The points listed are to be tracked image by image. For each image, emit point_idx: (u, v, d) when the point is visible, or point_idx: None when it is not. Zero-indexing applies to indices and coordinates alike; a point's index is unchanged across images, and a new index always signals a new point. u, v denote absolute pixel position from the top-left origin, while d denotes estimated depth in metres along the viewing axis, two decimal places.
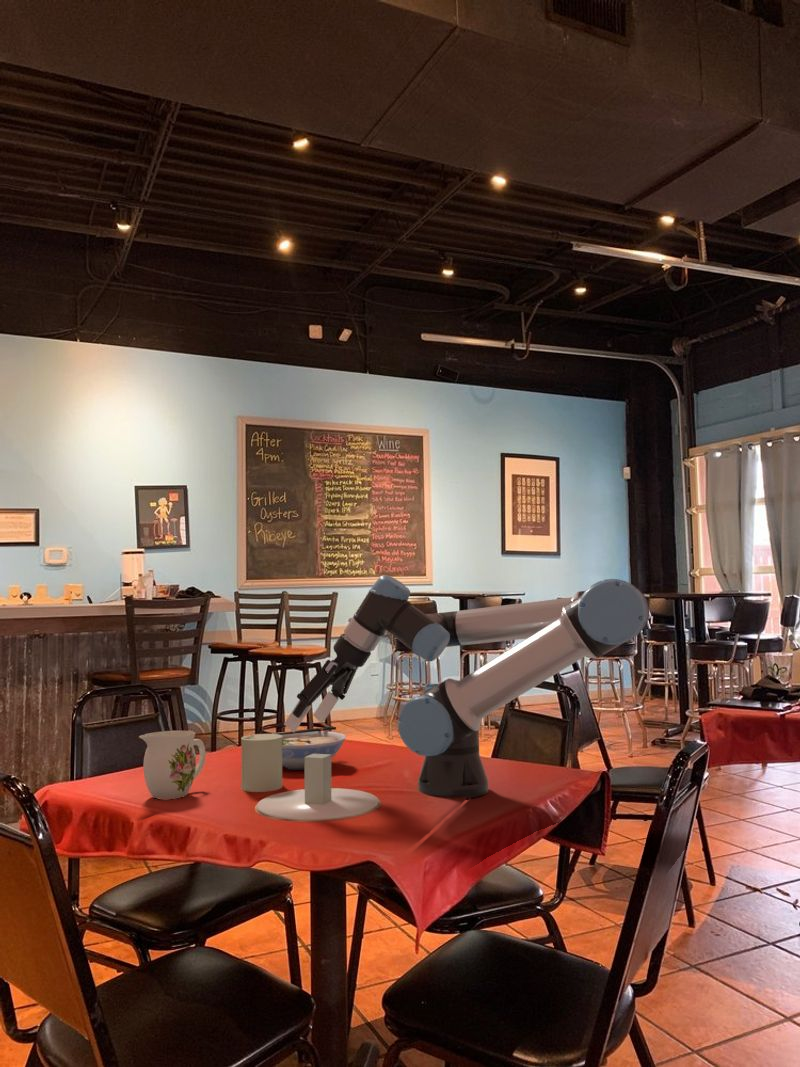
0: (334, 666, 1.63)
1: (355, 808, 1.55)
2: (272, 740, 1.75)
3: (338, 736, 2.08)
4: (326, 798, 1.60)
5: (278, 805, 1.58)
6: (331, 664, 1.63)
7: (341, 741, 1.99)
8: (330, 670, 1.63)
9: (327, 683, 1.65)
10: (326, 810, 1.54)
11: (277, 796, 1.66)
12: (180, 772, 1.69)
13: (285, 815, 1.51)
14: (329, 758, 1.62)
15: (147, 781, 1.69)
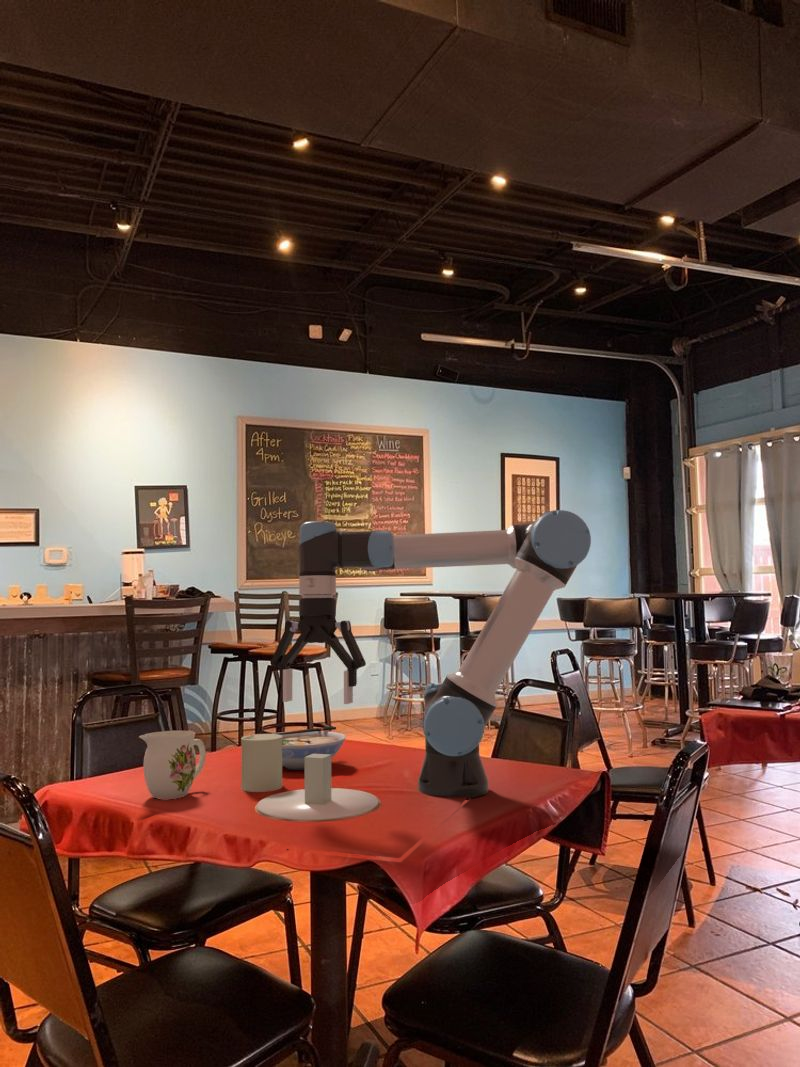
0: (348, 621, 1.63)
1: (355, 808, 1.55)
2: (272, 740, 1.75)
3: (338, 736, 2.08)
4: (326, 798, 1.60)
5: (278, 805, 1.58)
6: (347, 622, 1.62)
7: (341, 741, 1.99)
8: (349, 627, 1.62)
9: (340, 643, 1.63)
10: (326, 810, 1.54)
11: (277, 796, 1.66)
12: (180, 772, 1.69)
13: (285, 815, 1.51)
14: (329, 758, 1.62)
15: (147, 781, 1.69)
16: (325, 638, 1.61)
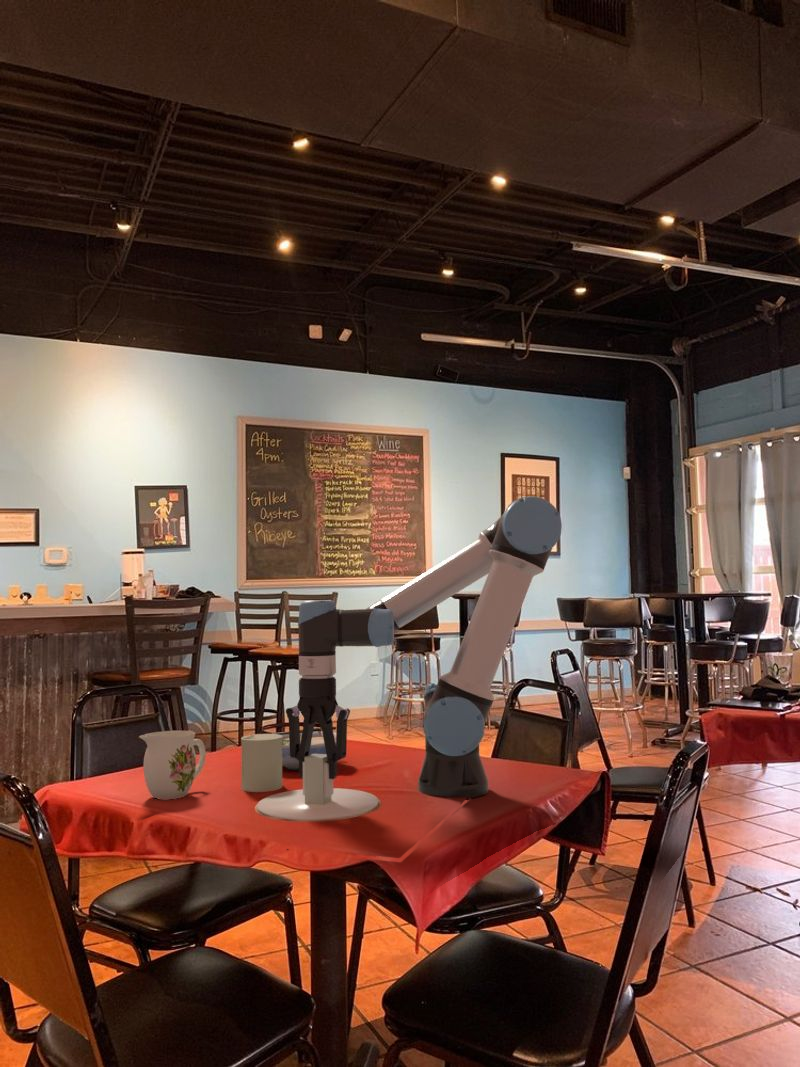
0: (349, 711, 1.61)
1: (355, 808, 1.55)
2: (272, 740, 1.75)
3: None
4: (326, 798, 1.60)
5: (278, 805, 1.58)
6: (347, 711, 1.60)
7: None
8: (347, 716, 1.61)
9: (332, 729, 1.62)
10: (326, 810, 1.54)
11: (277, 796, 1.66)
12: (180, 772, 1.69)
13: (285, 815, 1.51)
14: None
15: (147, 781, 1.69)
16: (320, 721, 1.60)
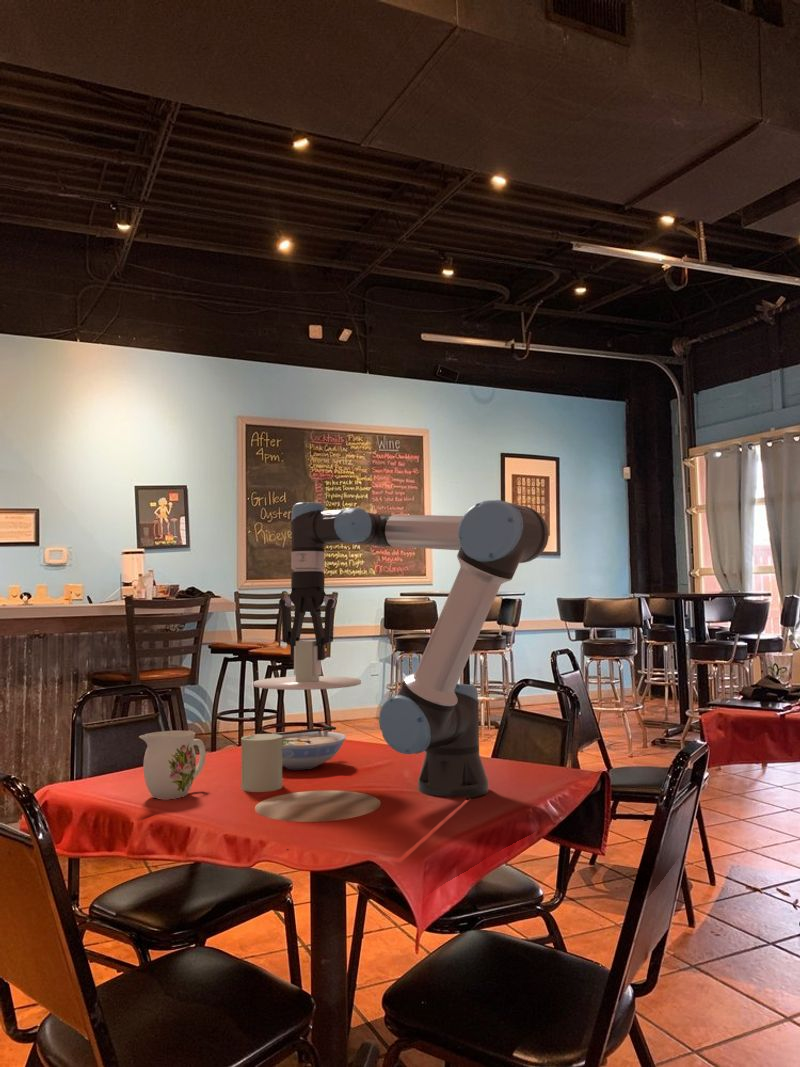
0: (336, 600, 1.81)
1: (341, 683, 1.75)
2: (272, 740, 1.75)
3: (338, 736, 2.08)
4: (315, 677, 1.80)
5: (272, 682, 1.78)
6: (334, 601, 1.80)
7: (341, 741, 1.99)
8: (334, 605, 1.81)
9: (320, 618, 1.82)
10: (315, 684, 1.73)
11: (270, 679, 1.85)
12: (180, 772, 1.69)
13: (279, 686, 1.70)
14: None
15: (147, 781, 1.69)
16: (310, 609, 1.80)
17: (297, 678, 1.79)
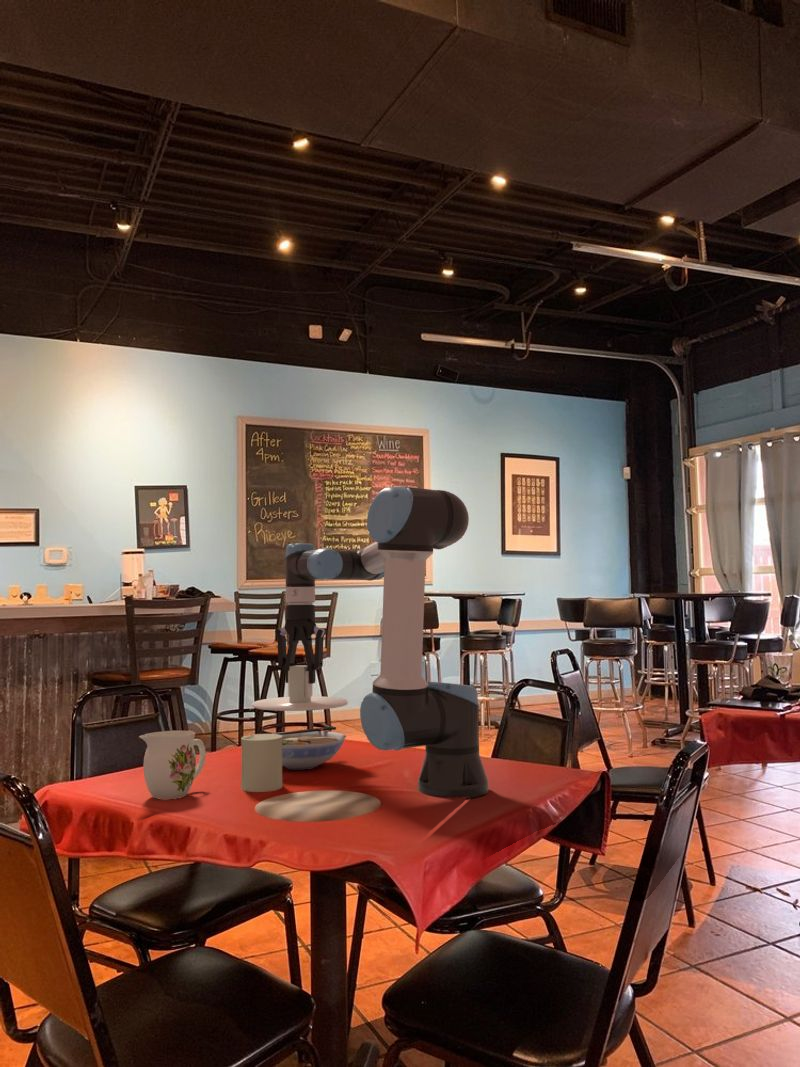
0: (325, 630, 2.04)
1: (328, 704, 1.98)
2: (272, 740, 1.75)
3: (338, 736, 2.08)
4: (306, 698, 2.02)
5: (268, 703, 2.01)
6: (323, 631, 2.03)
7: (341, 741, 1.99)
8: (323, 635, 2.03)
9: (311, 645, 2.05)
10: (306, 705, 1.96)
11: (268, 699, 2.08)
12: (180, 772, 1.69)
13: (273, 707, 1.93)
14: None
15: (147, 781, 1.69)
16: (302, 638, 2.03)
17: (291, 699, 2.02)
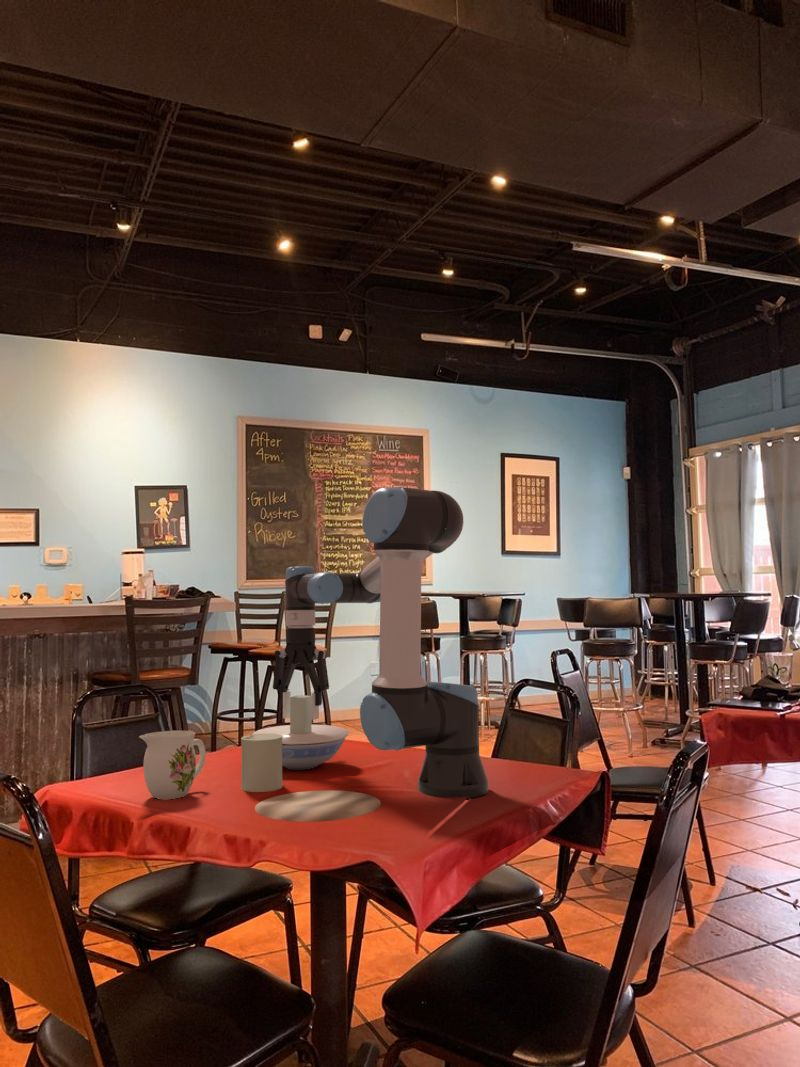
0: (325, 651, 2.03)
1: (329, 736, 1.97)
2: (272, 740, 1.75)
3: None
4: (307, 729, 2.01)
5: None
6: (324, 652, 2.02)
7: (341, 741, 1.99)
8: (325, 656, 2.03)
9: (314, 668, 2.04)
10: (307, 737, 1.95)
11: (268, 729, 2.07)
12: (180, 772, 1.69)
13: None
14: (310, 698, 2.03)
15: (147, 781, 1.69)
16: (304, 662, 2.02)
17: (291, 730, 2.01)
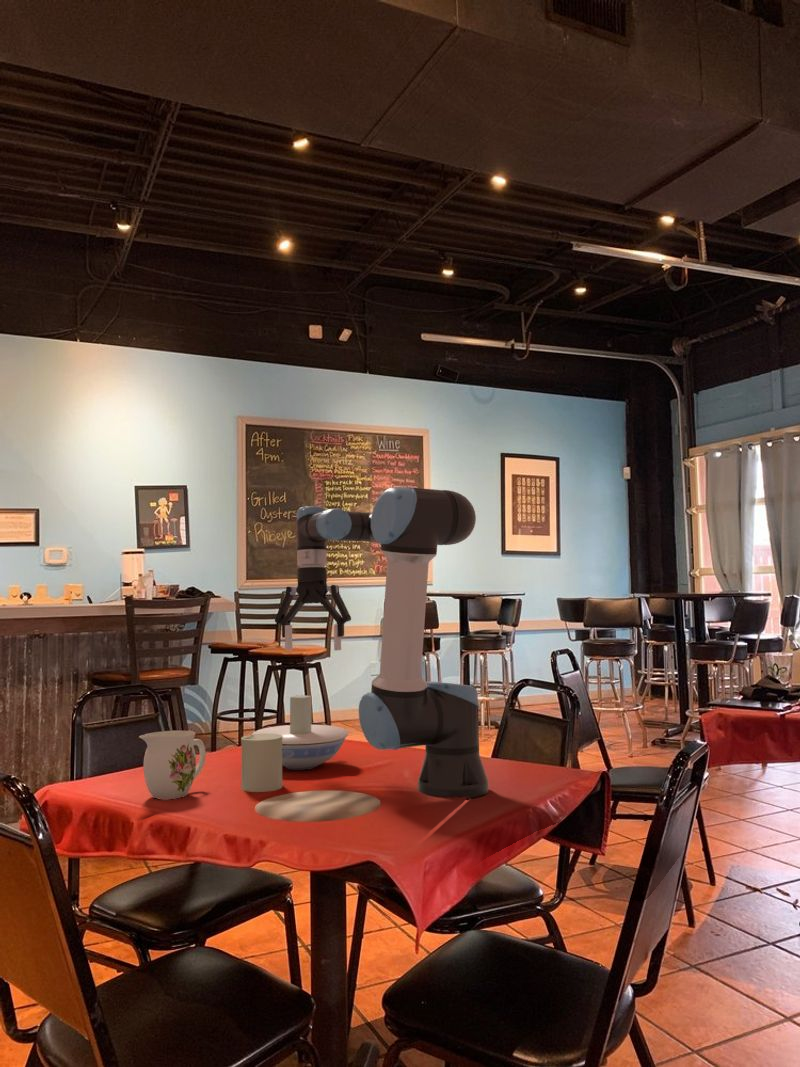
0: (337, 585, 2.05)
1: (329, 736, 1.97)
2: (272, 740, 1.75)
3: None
4: (307, 729, 2.02)
5: None
6: (336, 586, 2.04)
7: (341, 741, 1.99)
8: (338, 590, 2.04)
9: (330, 603, 2.05)
10: (306, 737, 1.95)
11: (268, 729, 2.07)
12: (180, 772, 1.69)
13: None
14: (310, 698, 2.04)
15: (147, 781, 1.69)
16: (318, 599, 2.03)
17: (291, 730, 2.01)
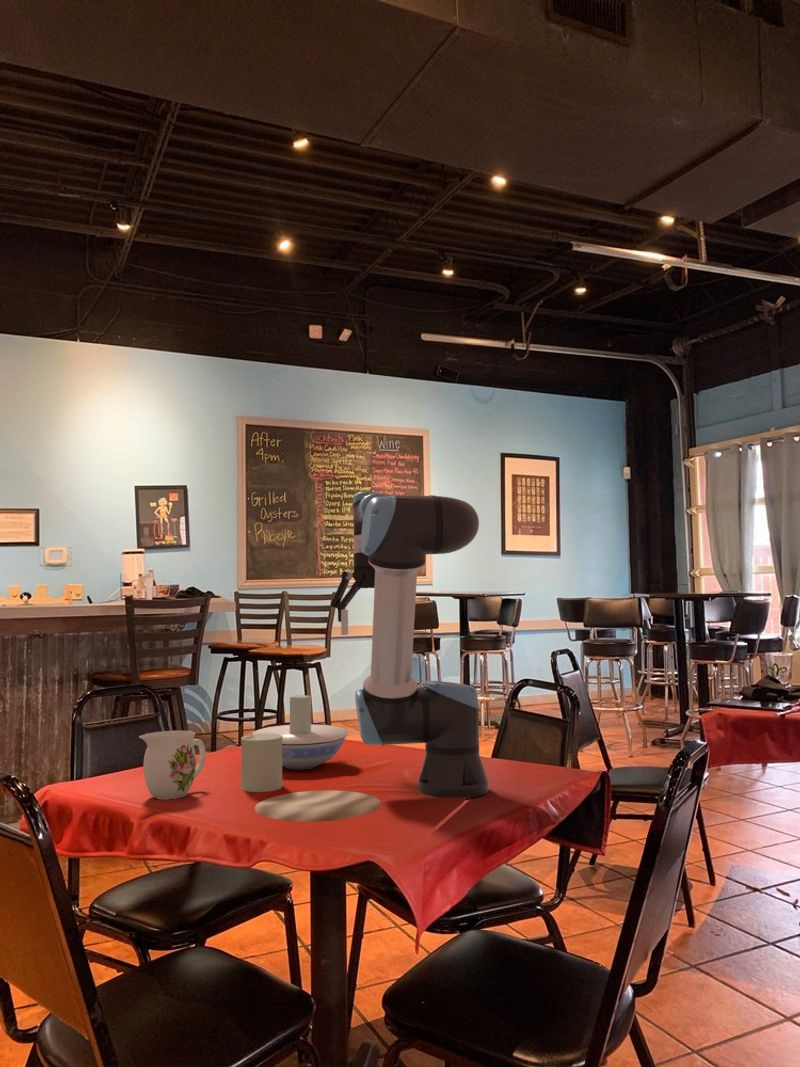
0: None
1: (329, 736, 1.97)
2: (272, 740, 1.75)
3: None
4: (307, 729, 2.02)
5: None
6: None
7: (341, 741, 1.99)
8: None
9: None
10: (306, 737, 1.96)
11: (268, 729, 2.08)
12: (180, 772, 1.69)
13: None
14: (309, 698, 2.04)
15: (147, 781, 1.69)
16: (375, 584, 2.05)
17: (291, 730, 2.01)
